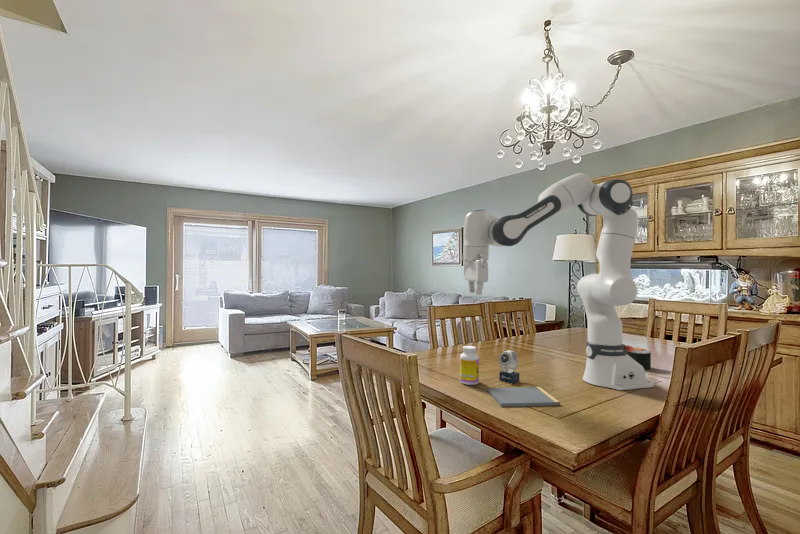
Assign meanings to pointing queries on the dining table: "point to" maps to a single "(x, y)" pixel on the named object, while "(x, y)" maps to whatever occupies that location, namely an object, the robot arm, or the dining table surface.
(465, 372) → the supplement bottle
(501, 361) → the watch
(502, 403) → the grey flat slab
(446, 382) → the dining table surface
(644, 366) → the sushi
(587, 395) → the dining table surface
